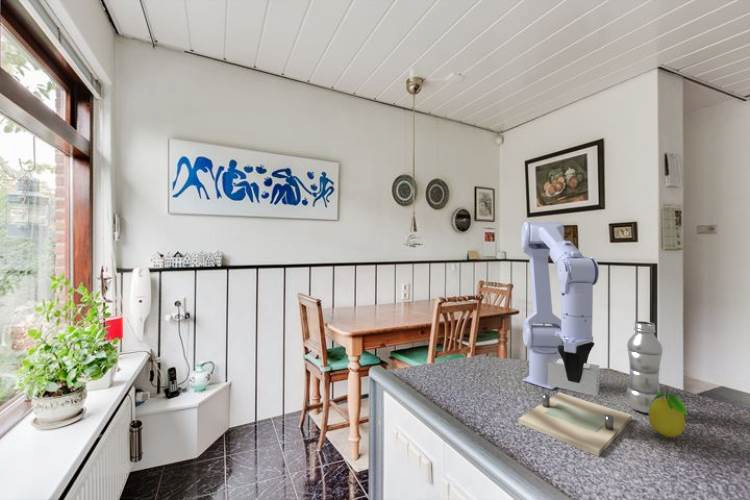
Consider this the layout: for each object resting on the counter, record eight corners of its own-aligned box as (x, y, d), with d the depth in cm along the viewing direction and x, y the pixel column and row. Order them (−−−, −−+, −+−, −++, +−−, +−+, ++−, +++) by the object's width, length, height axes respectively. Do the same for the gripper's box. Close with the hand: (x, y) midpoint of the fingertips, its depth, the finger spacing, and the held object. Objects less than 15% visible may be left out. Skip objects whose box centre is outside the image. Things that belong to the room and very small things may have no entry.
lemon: (687, 451, 64) (688, 397, 63) (646, 439, 68) (647, 388, 67) (687, 436, 68) (688, 386, 68) (649, 425, 72) (650, 378, 72)
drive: (552, 378, 79) (552, 356, 79) (599, 389, 73) (599, 365, 73) (547, 385, 76) (547, 361, 76) (596, 396, 70) (596, 371, 70)
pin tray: (558, 396, 86) (559, 382, 86) (631, 419, 75) (631, 403, 75) (518, 423, 74) (518, 406, 74) (598, 456, 62) (598, 437, 62)
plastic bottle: (656, 406, 81) (657, 321, 80) (666, 420, 75) (667, 327, 74) (622, 401, 83) (624, 318, 83) (629, 414, 77) (631, 324, 77)
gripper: (562, 307, 82) (562, 364, 82) (547, 317, 71) (547, 383, 71) (598, 310, 78) (597, 371, 78) (588, 322, 66) (587, 393, 67)
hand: (575, 377), depth 74 cm, fingers closed on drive, 4 cm apart
